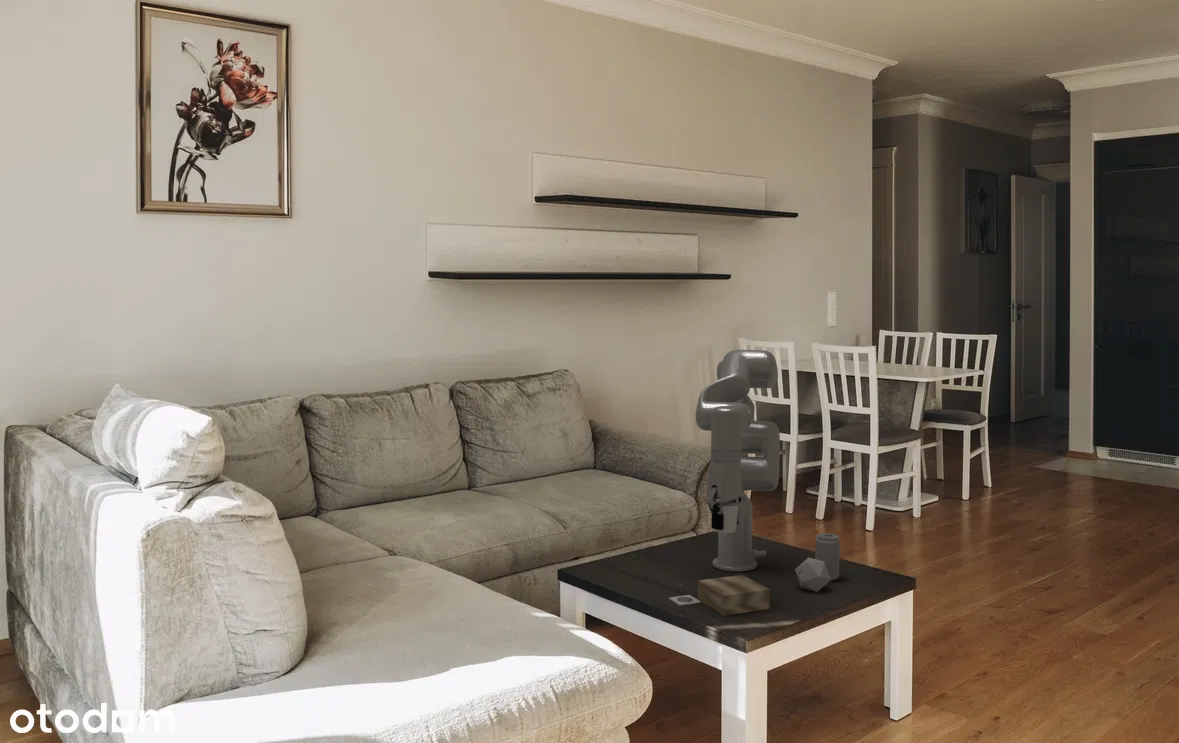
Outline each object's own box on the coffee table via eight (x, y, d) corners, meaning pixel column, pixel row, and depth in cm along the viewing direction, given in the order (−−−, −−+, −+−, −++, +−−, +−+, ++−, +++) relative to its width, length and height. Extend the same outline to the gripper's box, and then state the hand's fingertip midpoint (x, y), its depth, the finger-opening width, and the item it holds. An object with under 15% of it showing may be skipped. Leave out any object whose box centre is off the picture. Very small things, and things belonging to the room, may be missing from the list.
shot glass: (737, 534, 241) (738, 506, 240) (709, 532, 242) (710, 504, 241) (739, 528, 247) (739, 500, 247) (712, 526, 249) (712, 499, 248)
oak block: (741, 593, 253) (742, 574, 253) (769, 608, 241) (770, 589, 241) (697, 599, 248) (698, 580, 248) (724, 615, 236) (724, 595, 236)
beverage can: (840, 576, 268) (841, 534, 267) (836, 583, 262) (837, 539, 261) (817, 573, 271) (818, 531, 270) (812, 580, 265) (813, 536, 264)
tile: (689, 595, 251) (689, 594, 251) (700, 602, 246) (700, 601, 246) (668, 598, 249) (668, 597, 249) (679, 605, 243) (679, 604, 243)
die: (799, 584, 263) (786, 560, 259) (827, 569, 263) (815, 545, 258) (810, 604, 256) (797, 580, 252) (839, 588, 255) (827, 564, 251)
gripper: (731, 449, 252) (730, 518, 254) (693, 458, 239) (692, 530, 240) (757, 453, 247) (755, 522, 249) (719, 462, 234) (718, 535, 236)
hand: (724, 525), depth 245 cm, fingers closed on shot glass, 6 cm apart
